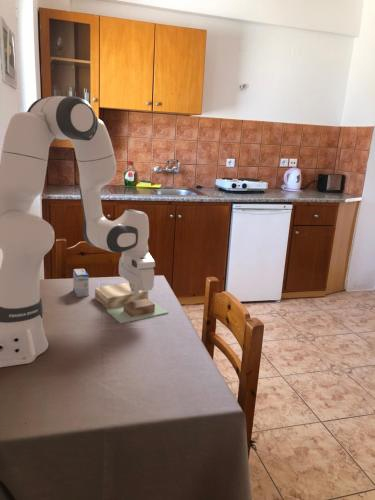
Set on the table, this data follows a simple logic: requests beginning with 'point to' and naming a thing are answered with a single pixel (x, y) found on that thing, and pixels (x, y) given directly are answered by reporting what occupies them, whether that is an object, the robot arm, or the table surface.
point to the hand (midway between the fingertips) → (134, 295)
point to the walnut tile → (139, 307)
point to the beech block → (117, 295)
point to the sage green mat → (124, 317)
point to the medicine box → (80, 282)
